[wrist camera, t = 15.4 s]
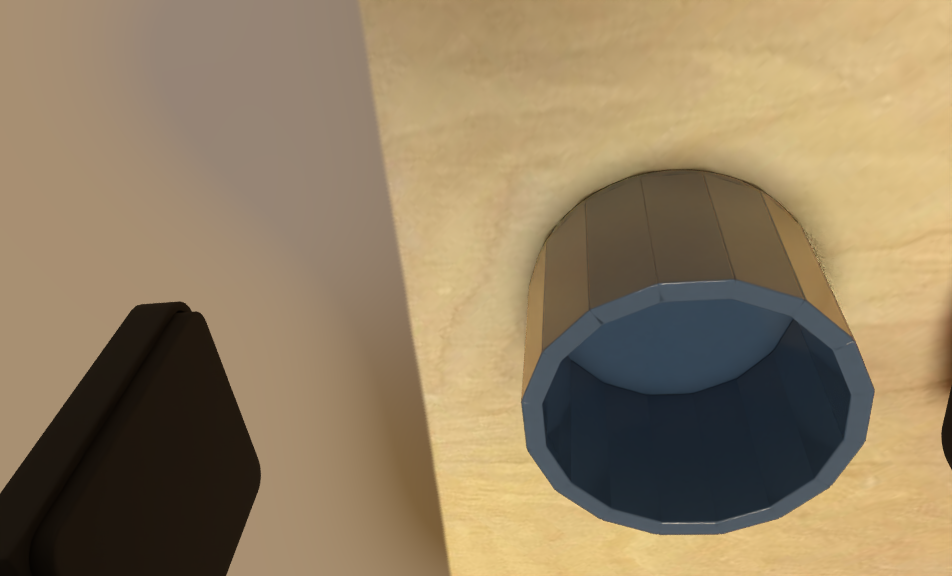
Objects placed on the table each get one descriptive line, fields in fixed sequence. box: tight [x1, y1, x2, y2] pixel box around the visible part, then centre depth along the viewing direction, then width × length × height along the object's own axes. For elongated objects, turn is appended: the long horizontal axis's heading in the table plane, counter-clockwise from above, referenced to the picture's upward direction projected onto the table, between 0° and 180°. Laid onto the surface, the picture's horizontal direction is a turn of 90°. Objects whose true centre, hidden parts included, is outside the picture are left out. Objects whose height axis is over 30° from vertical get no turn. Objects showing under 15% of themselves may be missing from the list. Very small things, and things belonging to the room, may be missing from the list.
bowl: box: [521, 170, 875, 535], centre depth 35 cm, size 13×13×8 cm
